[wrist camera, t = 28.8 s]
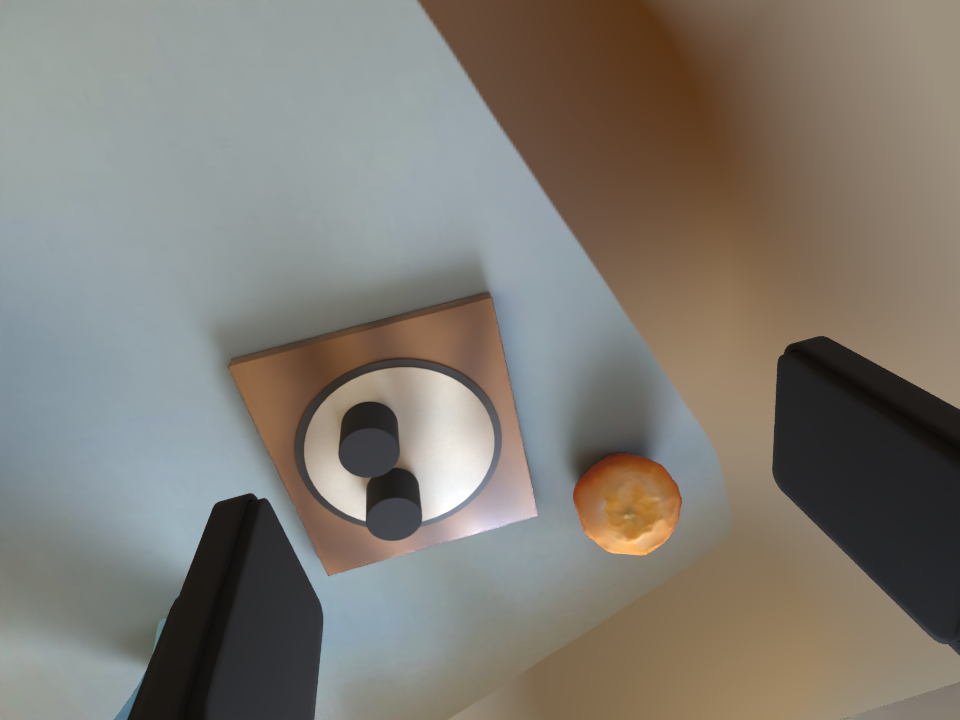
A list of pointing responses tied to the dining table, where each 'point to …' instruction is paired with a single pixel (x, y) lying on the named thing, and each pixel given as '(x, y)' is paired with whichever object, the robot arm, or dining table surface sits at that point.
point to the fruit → (627, 504)
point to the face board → (421, 425)
